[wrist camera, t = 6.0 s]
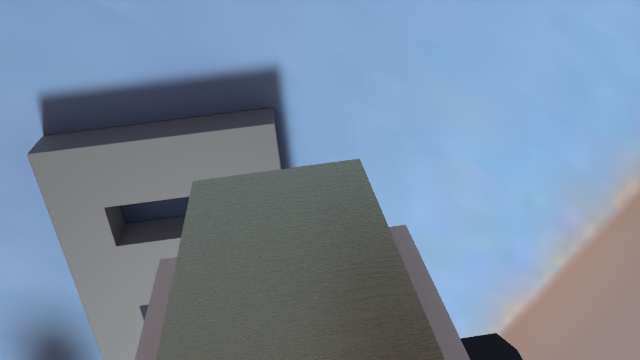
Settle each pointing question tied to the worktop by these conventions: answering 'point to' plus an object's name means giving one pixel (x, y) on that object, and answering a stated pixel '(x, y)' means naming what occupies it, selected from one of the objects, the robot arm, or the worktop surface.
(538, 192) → the worktop surface
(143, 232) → the socket plate
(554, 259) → the worktop surface
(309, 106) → the worktop surface
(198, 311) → the brass peg
